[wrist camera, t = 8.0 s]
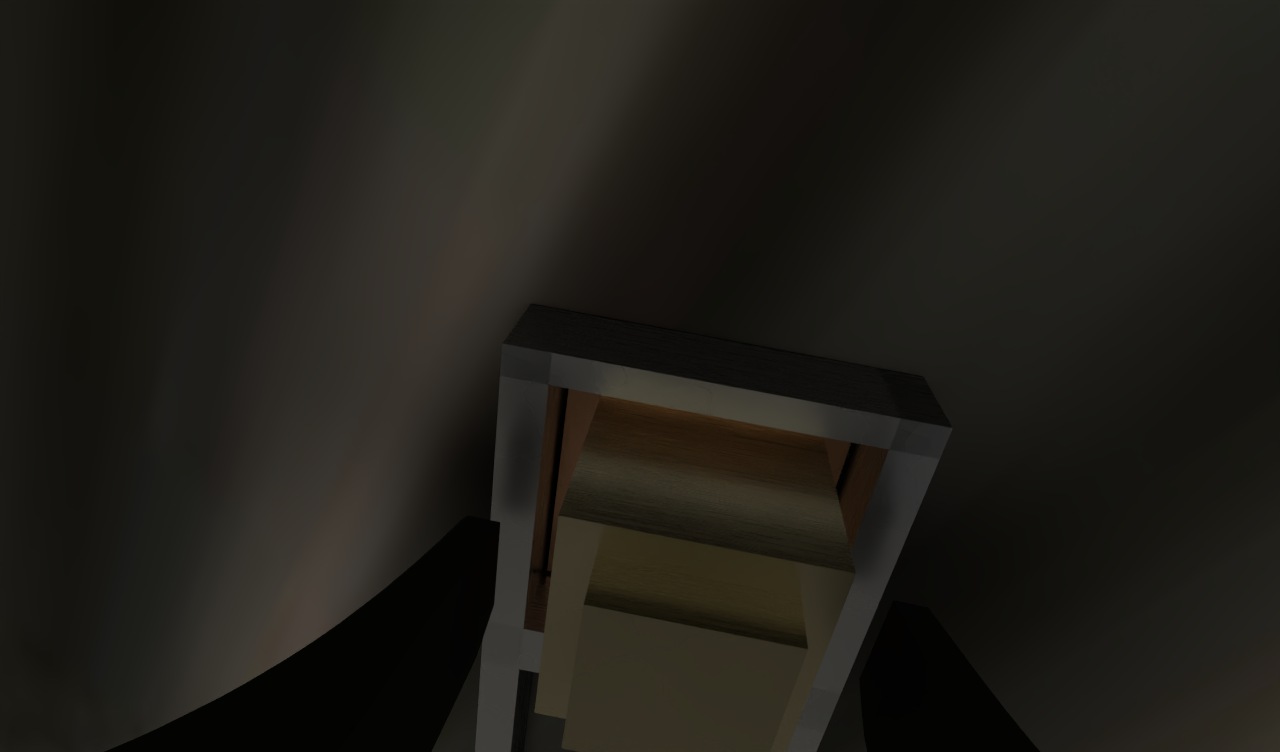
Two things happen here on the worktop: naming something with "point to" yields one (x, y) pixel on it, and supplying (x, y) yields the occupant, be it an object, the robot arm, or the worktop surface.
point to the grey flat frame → (706, 384)
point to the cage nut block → (691, 583)
